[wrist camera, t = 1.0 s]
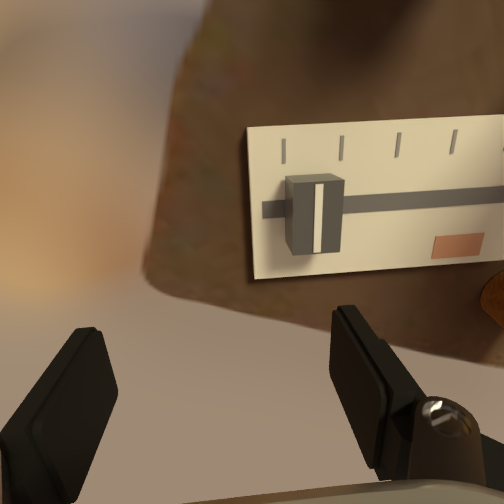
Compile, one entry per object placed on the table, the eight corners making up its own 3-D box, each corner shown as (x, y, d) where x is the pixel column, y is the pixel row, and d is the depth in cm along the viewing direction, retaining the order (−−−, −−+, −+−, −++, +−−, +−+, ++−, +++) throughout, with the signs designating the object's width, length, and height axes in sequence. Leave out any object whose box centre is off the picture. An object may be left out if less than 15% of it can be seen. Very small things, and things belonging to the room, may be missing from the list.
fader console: (530, 112, 29) (548, 112, 27) (492, 254, 34) (505, 260, 32) (246, 127, 27) (247, 127, 26) (253, 272, 32) (254, 279, 31)
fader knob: (330, 173, 27) (345, 180, 24) (327, 238, 29) (340, 252, 26) (285, 175, 27) (293, 183, 24) (285, 241, 29) (293, 256, 26)
